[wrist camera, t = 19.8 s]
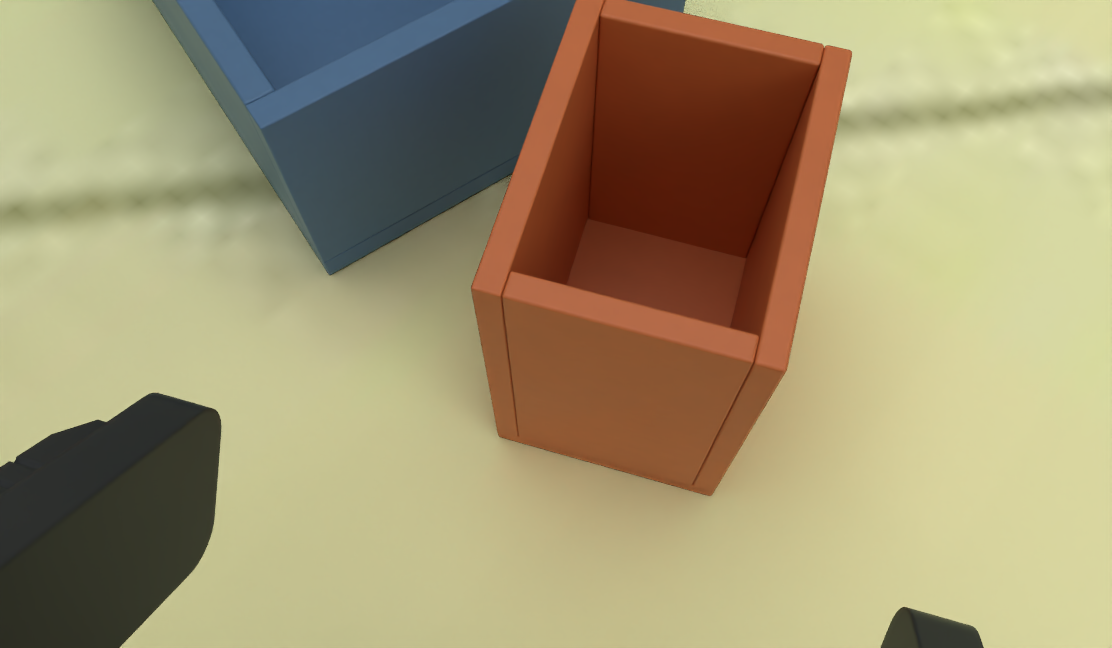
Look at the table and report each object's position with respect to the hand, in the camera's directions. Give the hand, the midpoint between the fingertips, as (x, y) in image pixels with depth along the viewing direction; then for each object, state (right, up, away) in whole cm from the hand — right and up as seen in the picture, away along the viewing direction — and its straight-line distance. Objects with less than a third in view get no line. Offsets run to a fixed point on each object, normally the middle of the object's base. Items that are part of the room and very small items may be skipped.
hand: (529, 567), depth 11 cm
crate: (+3, +2, +16) cm, 17 cm away
